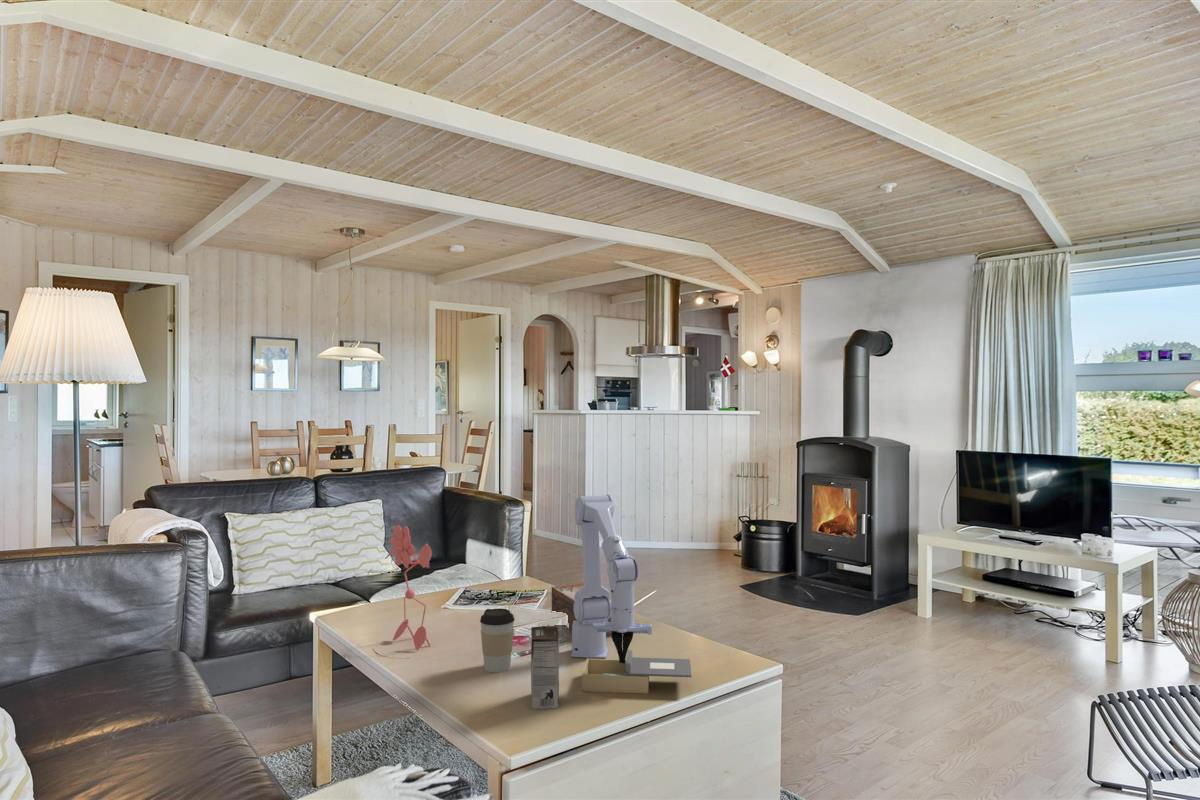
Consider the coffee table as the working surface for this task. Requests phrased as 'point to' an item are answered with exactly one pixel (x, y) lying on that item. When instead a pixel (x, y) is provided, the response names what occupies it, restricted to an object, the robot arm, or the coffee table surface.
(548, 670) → the coffee box
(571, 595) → the tissue box cover
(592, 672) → the mailer box
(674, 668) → the lid
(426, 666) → the coffee table surface
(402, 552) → the figurine
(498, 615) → the coffee cup
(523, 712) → the coffee table surface
